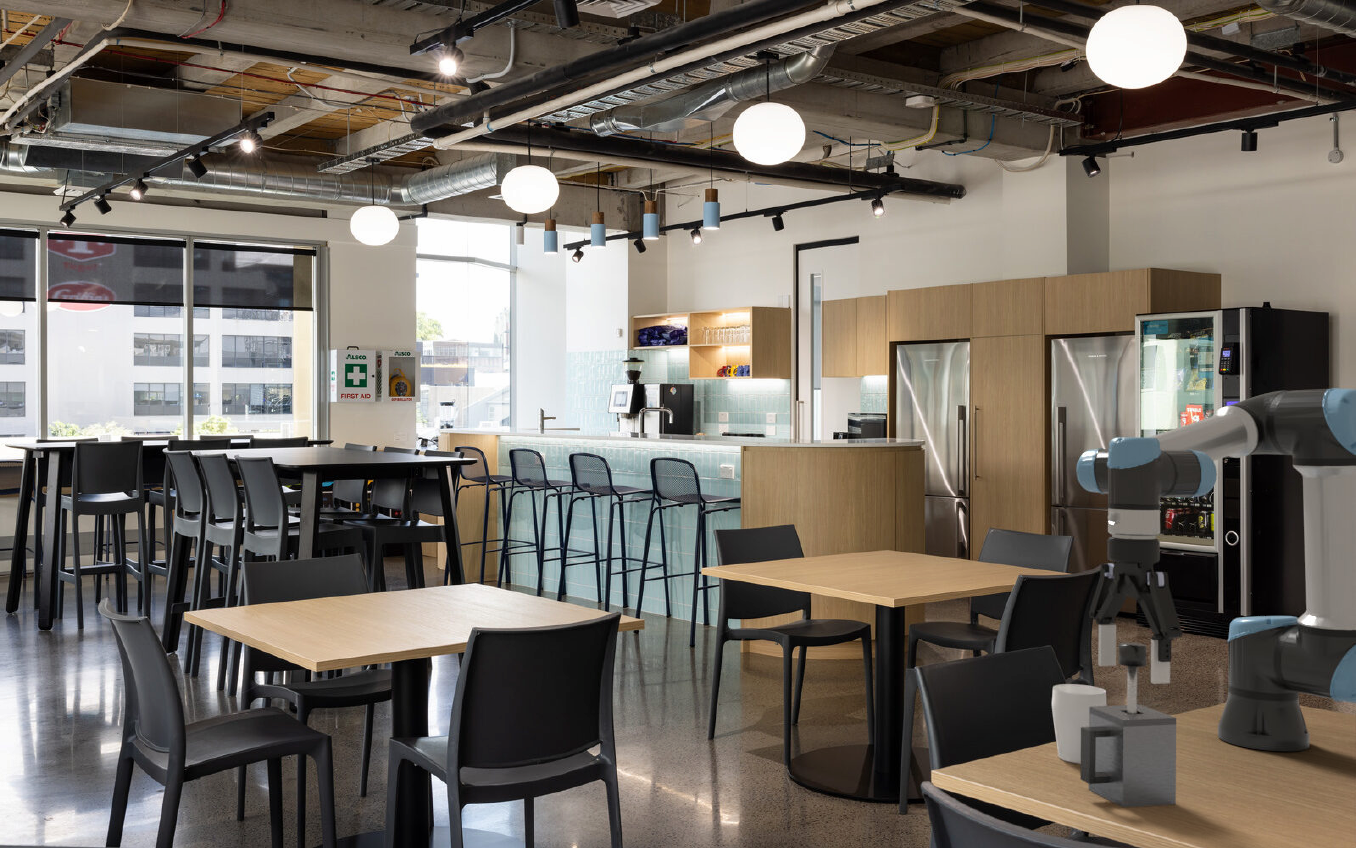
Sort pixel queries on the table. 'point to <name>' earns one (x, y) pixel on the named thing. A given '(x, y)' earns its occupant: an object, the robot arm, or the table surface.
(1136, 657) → the plunger
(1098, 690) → the cup
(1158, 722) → the grey box with handle
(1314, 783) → the table surface
